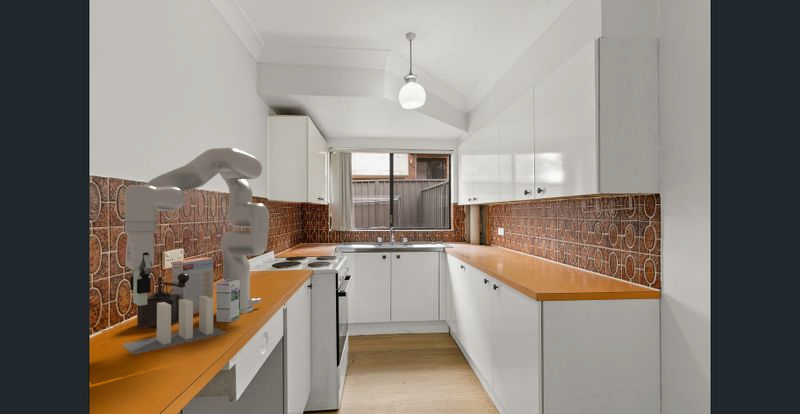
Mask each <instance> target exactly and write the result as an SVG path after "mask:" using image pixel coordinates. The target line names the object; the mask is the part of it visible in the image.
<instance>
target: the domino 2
mask: <svg viewBox="0 0 800 414" xmlns="http://www.w3.org/2000/svg"><path fill="white" fill-rule="evenodd" d="M171 334H172V326H171V305H170V304H168V303H166V302H161V303H157V327H156V337H157V340H158V341H159V342H160V343H162V344H168V343H171Z"/></svg>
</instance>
